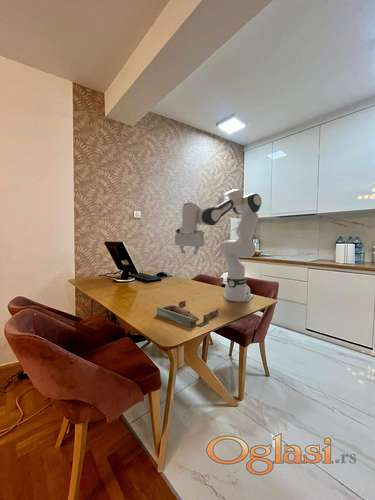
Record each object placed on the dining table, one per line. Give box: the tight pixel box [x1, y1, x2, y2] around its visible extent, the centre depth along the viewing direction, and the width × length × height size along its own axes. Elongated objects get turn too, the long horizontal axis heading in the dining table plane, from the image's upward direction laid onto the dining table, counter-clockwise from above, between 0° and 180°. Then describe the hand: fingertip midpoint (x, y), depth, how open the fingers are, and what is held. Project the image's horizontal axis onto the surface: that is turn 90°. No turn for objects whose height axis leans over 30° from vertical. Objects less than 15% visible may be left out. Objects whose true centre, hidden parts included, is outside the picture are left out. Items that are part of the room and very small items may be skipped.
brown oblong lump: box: [170, 305, 200, 322], centre depth 115 cm, size 18×7×7 cm
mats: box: [172, 305, 210, 328], centre depth 117 cm, size 8×33×1 cm, turn 36°
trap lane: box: [156, 300, 219, 329], centre depth 117 cm, size 22×24×4 cm
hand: (189, 253), depth 130 cm, fingers open, 8 cm apart
